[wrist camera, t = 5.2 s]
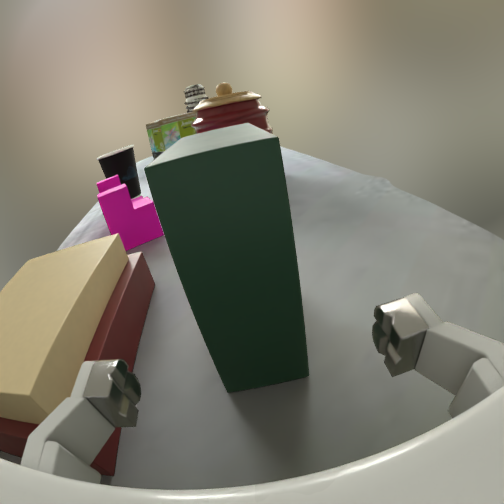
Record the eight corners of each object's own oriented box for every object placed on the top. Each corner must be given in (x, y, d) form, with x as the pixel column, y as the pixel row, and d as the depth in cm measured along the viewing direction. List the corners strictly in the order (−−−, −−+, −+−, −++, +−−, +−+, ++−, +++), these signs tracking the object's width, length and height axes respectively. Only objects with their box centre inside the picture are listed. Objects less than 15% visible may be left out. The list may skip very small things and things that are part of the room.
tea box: (170, 168, 81) (158, 119, 74) (155, 168, 88) (144, 124, 81) (210, 153, 89) (200, 109, 82) (193, 154, 96) (183, 113, 89)
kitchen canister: (276, 190, 43) (254, 71, 34) (195, 200, 46) (169, 93, 38) (284, 168, 54) (267, 77, 45) (219, 177, 57) (199, 91, 49)
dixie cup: (144, 202, 52) (127, 147, 47) (107, 213, 52) (90, 160, 47) (151, 191, 59) (137, 142, 54) (118, 201, 59) (104, 154, 54)
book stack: (114, 476, 10) (36, 415, 7) (-17, 444, 10) (-71, 390, 7) (155, 283, 26) (132, 224, 23) (52, 304, 26) (27, 256, 23)
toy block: (163, 234, 36) (146, 178, 33) (118, 254, 34) (97, 197, 30) (143, 210, 48) (131, 169, 44) (110, 223, 46) (96, 182, 42)
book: (310, 376, 15) (280, 135, 9) (226, 393, 15) (141, 168, 9) (277, 276, 24) (249, 122, 18) (221, 288, 24) (180, 137, 18)
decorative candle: (210, 147, 102) (196, 83, 90) (190, 150, 106) (176, 89, 95) (223, 142, 109) (209, 82, 97) (203, 145, 113) (190, 87, 102)
